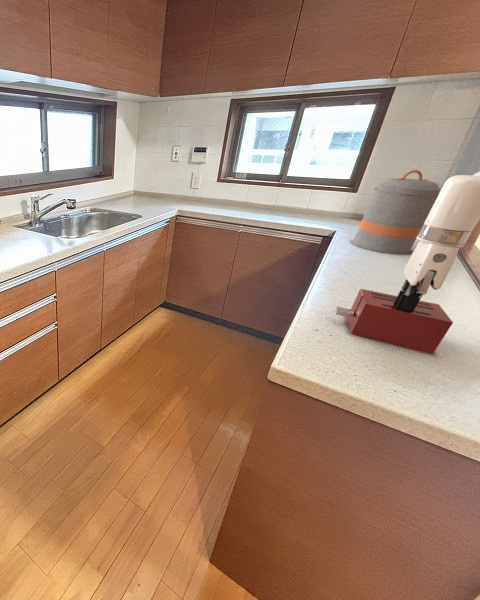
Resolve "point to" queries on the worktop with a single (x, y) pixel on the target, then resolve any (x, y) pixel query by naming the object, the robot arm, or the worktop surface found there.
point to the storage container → (396, 214)
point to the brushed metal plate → (344, 312)
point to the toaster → (398, 322)
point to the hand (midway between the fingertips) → (402, 308)
